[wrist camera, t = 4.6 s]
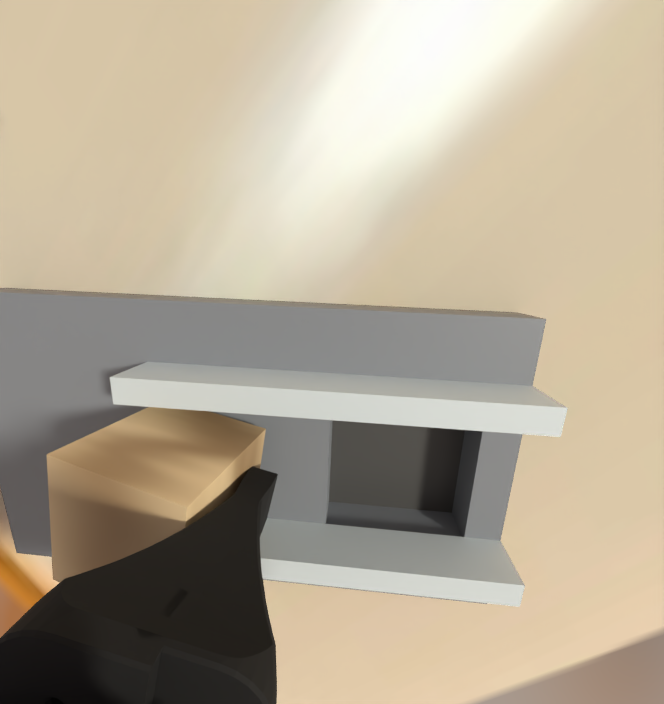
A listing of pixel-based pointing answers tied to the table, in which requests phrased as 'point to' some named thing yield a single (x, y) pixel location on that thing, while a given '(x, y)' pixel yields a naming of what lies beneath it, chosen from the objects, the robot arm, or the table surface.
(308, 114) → the table surface
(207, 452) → the block
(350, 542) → the rail jig base
